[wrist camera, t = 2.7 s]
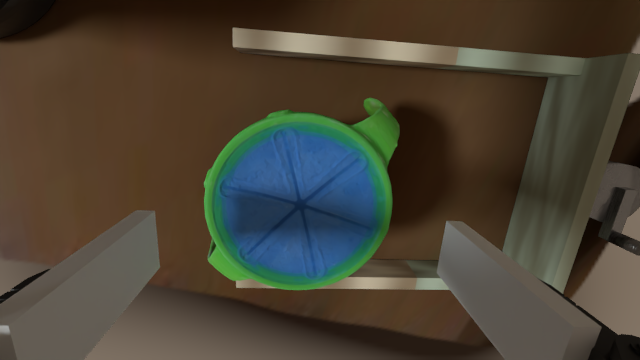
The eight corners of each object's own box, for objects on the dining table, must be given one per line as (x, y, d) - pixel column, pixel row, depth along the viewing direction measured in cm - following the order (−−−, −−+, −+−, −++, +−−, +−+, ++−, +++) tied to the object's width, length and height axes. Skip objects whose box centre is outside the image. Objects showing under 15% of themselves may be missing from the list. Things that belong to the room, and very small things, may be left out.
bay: (242, 268, 28) (228, 312, 22) (240, 36, 23) (221, 16, 17) (507, 272, 31) (556, 313, 25) (565, 63, 25) (645, 54, 19)
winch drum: (535, 216, 29) (609, 254, 22) (553, 153, 27) (640, 173, 20) (581, 218, 30) (667, 256, 23) (602, 155, 28) (703, 176, 21)
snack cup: (339, 60, 24) (369, 37, 14) (403, 164, 27) (465, 204, 17) (189, 170, 25) (122, 217, 16) (265, 256, 28) (248, 342, 18)
